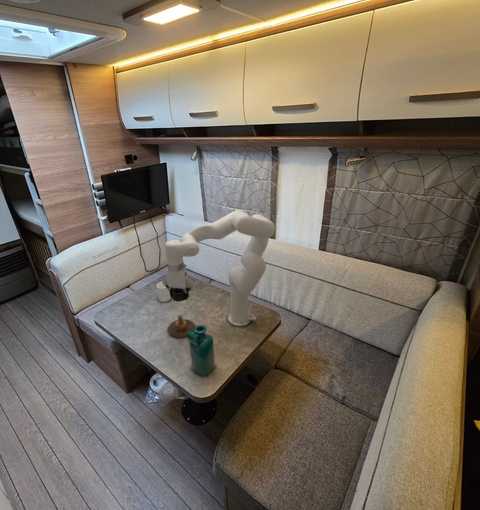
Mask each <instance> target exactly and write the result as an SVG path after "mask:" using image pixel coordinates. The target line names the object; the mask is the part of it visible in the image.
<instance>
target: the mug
mask: <svg viewBox="0 0 480 510" xmlns="http://www.w3.org/2000/svg"><path fill="white" fill-rule="evenodd" d="M163 282H164V281H160V282H158V283H156V285H155V287H156V294H157V298H158V301H159V302H161V303H167V302H169V301H171V299H172V298H171V297H170V292H169V291H168V289H167V288H166V286H165V285H164V284H163Z"/></svg>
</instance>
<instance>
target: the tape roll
mask: <svg viewBox="0 0 480 510" xmlns="http://www.w3.org/2000/svg"><path fill="white" fill-rule="evenodd" d="M173 288H174V287H173ZM184 293H185V292H184V290H183V289H181V288H174V289H173V290H172V298H171V299H172V300H173V301H174V302H183V301H186V300H185V298H184Z"/></svg>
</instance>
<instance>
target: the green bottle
mask: <svg viewBox="0 0 480 510" xmlns="http://www.w3.org/2000/svg"><path fill="white" fill-rule="evenodd" d="M207 329H208V328H207V327H206V326H205V325H203V324H199V325H196V326H195V328H194V332H190V331H189V332H188V333H187V337H186V338H187V340H188V342H189V343H188V344H189V352H190V361H191V368H192V370H193V371H194V372H195V373H197V374H198V375H201V376H203V377H204V376H207V375H209V373H210V372H211V371H212V370H214V368H215V366H216V363H215V362H216V361H215V349H214V348H215V346H214V345H215V344H214V337H213V336H212V335H211V334H209V333H207Z"/></svg>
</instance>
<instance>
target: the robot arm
mask: <svg viewBox="0 0 480 510" xmlns="http://www.w3.org/2000/svg"><path fill="white" fill-rule="evenodd" d="M235 232H238V233H240V234H243V235H246V236H250V240H249V243H248V245H247V246H246V247H245V250H244V251H243V253H242V255H241V256H240V264H241V266H234V267H232V268H231V269H230V271H229V272H228V283H229V293H230V295H229V296H230V298H229V301H230V313H229V314H228V316H227V321H228V322H229V323H230V324H231V325H233V326H235V327H244V326H248V324H250V323H251V321H254V322H255V321H257V317H256V315H255V314H252V313H250V312H251V311H250V310H249V294H251V293H252V292H253V291H254V290H255V289H256V287H257V286H258V284H259V282H260V280H261V279H262V277H263V276H264V274H265V272H266V269H267V263H266V260H265V259H264V258H263V255H264V252H265V251H266V248H267V247H268V243H269V239H270V238H271V237H272V236H273V235H274V234H275V232H276V226H275V224H274V223H273V222H272V221H271V220H270V219H268V218H267V217H266V216H264V215H263V214H260V213H255V214H253V215H249V214H247V213H246V212H245V211H243V210H240V209H236V210H234V211H232V212H229V213H228V214H226V215H224V216H223V217H221V218H219V219H217V220H216V221H213V222H211V223H208V224H205V225H200V226H197V227H195V228H193V229H191V230H189V231H188V232H186V233H184V234H183V235H182V236H181V238H180V239H179V240H178V239H170V240H167V241H166V242H165V243H164V250H165V257H166V265H167V268H166V279H165V280H163V281H162V282H163V284H164V285H165V286H166V288H167V289H168V291H169V292H170V297H171V299H173V298H172V290H173V289H174V288H181V289H183V290H184V292H185V293H184V298H185V300H184V301H187V300H188V299H189V298H190V293H189V292H190V291H191V290H192V289H193V287H194V284H193V283H192V282H191V281H190V279H189V274H188V270H187V264H185V262H184V257H187V258H190V257H195V256H197V255H198V254H199V252H200V245H199V243H201V242H202V241H206V240H222V239H224V238H225V237H227V236H229V235H231V234H233V233H235ZM242 266H243V267H242ZM187 285H188V286H187Z"/></svg>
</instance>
